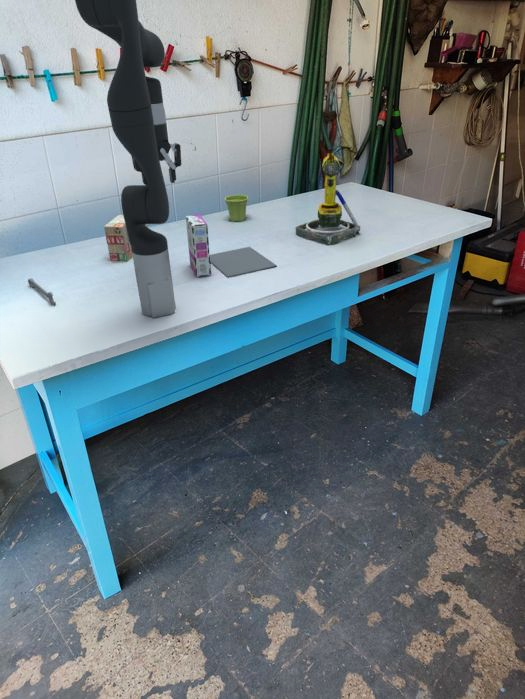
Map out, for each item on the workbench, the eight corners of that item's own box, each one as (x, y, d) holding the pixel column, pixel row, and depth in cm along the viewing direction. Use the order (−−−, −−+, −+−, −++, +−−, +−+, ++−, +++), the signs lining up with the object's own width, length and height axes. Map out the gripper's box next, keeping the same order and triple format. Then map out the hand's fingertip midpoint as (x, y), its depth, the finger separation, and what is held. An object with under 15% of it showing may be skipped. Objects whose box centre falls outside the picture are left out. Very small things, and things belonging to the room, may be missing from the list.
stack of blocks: (133, 240, 193) (128, 206, 187) (150, 240, 192) (145, 207, 186) (110, 261, 175) (103, 225, 169) (127, 262, 174) (121, 226, 168)
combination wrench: (26, 276, 158) (49, 295, 145) (30, 275, 159) (54, 294, 145) (29, 287, 160) (53, 307, 146) (33, 286, 161) (57, 306, 147)
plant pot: (221, 219, 211) (219, 198, 206) (239, 214, 216) (237, 193, 211) (236, 224, 205) (234, 202, 200) (254, 219, 210) (253, 197, 205)
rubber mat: (276, 266, 166) (276, 265, 166) (227, 277, 160) (227, 276, 160) (249, 248, 182) (249, 246, 182) (204, 257, 175) (203, 255, 175)
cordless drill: (290, 235, 192) (290, 156, 177) (325, 223, 202) (327, 148, 188) (329, 247, 180) (332, 164, 165) (363, 234, 191) (369, 154, 176)
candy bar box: (212, 275, 162) (208, 224, 153) (196, 278, 161) (191, 226, 152) (204, 263, 171) (200, 213, 163) (189, 265, 170) (184, 215, 161)
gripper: (129, 125, 136) (139, 190, 144) (182, 120, 141) (188, 183, 150) (122, 122, 141) (132, 185, 150) (173, 117, 147) (179, 178, 155)
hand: (160, 184), depth 150 cm, fingers open, 7 cm apart
